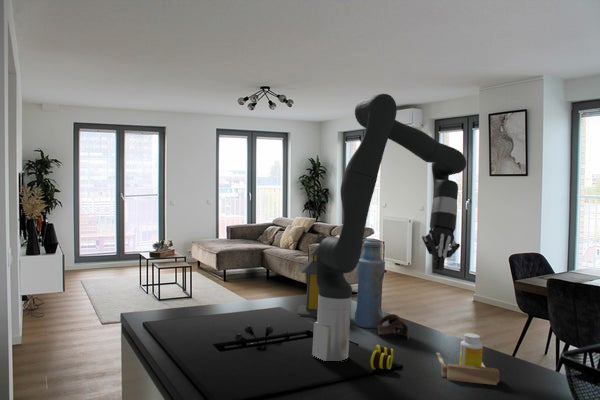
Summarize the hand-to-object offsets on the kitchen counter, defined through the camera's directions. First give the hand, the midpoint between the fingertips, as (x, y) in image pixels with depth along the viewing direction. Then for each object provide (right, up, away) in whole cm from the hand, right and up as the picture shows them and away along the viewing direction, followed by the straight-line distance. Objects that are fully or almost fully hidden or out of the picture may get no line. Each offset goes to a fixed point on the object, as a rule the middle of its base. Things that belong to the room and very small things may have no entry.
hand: (438, 270), depth 151 cm
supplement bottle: (+4, -25, -16) cm, 30 cm away
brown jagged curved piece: (-10, -24, +16) cm, 31 cm away
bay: (+4, -25, -12) cm, 28 cm away
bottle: (-17, -23, +28) cm, 40 cm away
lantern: (-35, -22, +42) cm, 59 cm away
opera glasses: (-19, -24, -14) cm, 34 cm away
